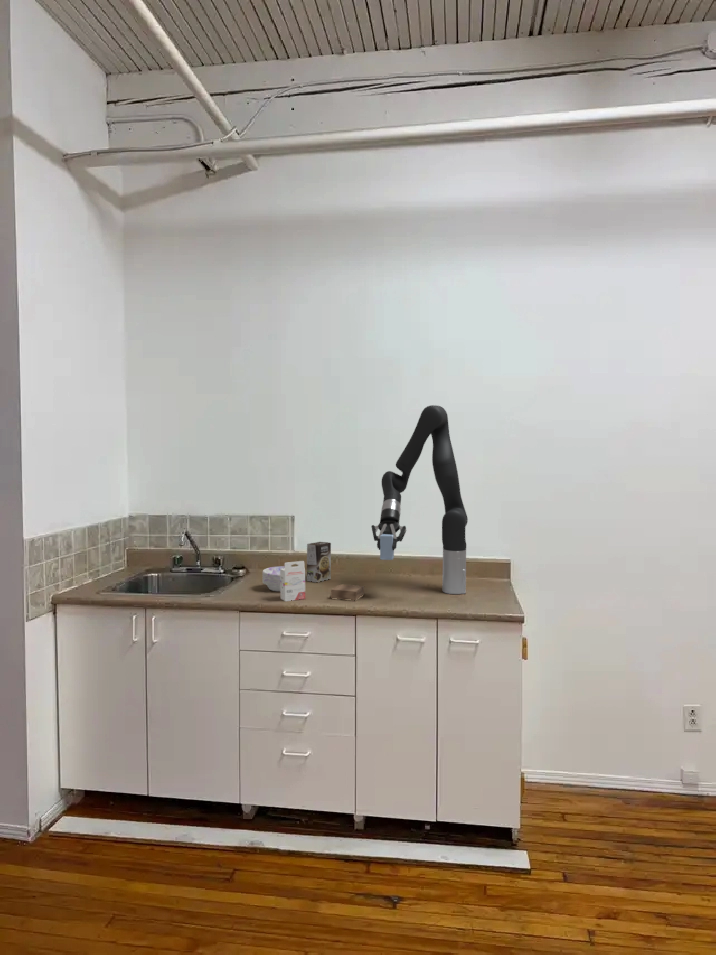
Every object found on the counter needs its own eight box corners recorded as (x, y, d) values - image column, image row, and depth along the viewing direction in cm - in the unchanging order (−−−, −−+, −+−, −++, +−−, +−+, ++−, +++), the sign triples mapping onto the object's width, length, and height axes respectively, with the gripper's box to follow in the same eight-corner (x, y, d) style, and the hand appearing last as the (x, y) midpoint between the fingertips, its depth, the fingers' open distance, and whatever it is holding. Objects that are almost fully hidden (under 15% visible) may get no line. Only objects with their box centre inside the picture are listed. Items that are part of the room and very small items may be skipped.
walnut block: (364, 596, 262) (364, 586, 262) (355, 602, 253) (355, 591, 252) (339, 594, 265) (340, 584, 265) (331, 599, 256) (331, 589, 256)
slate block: (393, 557, 258) (393, 534, 258) (392, 559, 254) (392, 536, 253) (382, 557, 259) (381, 534, 258) (380, 559, 254) (380, 536, 254)
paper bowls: (268, 594, 262) (268, 574, 261) (258, 586, 276) (257, 567, 275) (305, 591, 268) (305, 571, 268) (293, 583, 282) (293, 564, 282)
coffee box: (317, 583, 283) (317, 545, 282) (306, 581, 287) (306, 543, 286) (331, 579, 290) (331, 542, 289) (320, 577, 294) (320, 540, 293)
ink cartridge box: (300, 596, 260) (300, 558, 259) (305, 599, 255) (305, 560, 254) (279, 598, 256) (279, 560, 255) (284, 601, 251) (284, 562, 251)
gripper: (371, 507, 264) (366, 542, 253) (407, 507, 261) (404, 543, 250) (373, 518, 269) (368, 554, 258) (409, 519, 267) (405, 555, 256)
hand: (386, 548), depth 254 cm, fingers closed on slate block, 4 cm apart
